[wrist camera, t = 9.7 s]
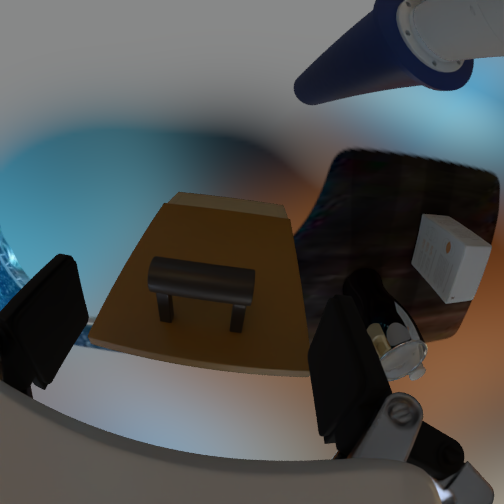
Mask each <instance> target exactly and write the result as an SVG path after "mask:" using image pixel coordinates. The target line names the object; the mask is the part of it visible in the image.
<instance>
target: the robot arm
mask: <svg viewBox="0 0 504 504" xmlns="http://www.w3.org/2000/svg"><path fill="white" fill-rule="evenodd" d="M396 21H397V26H398V29H399V32H400V34H401V36H402V38H403V40H404V42H405V43H406V45H407V47H408V48H409V49H410V50H411V52H412V53H413V54H414V55H415V56H416V57H417V58H418V59H419V60H420V61H421V62H422V63H424V64H425V65H426V66H428V67H430V68H431V69H433V70H436V71H439V72H453V71H456V70H458V69H459V68H460V67H461V66H462V65H463V62H464V60H466V59H475V58H486V57H498V56H499V57H500V56H504V0H405V1H403V2H402V3H401V4H400V5H399V7H398V9H397V12H396ZM88 319H89V315H88V311H87V307H86V304H85V300H84V296H83V291H82V287H81V283H80V278H79V274H78V269H77V264H76V262H75V261H74V259H73V257H72V256H69V255H64V254H58V255H56V256H55V257H54V258H53V259H52V260H51V261H50V262H49V263H48V264H46V266H45V267H43V268H42V269H41V270H40V271H39V272H38V273H37V274H36V275H35V276H34V277H33V278H32V279H31V280H30V281H29V282H28V283H27V284H26V285H25V286H24V287H23V288H22V289H21V290H20V291H19V292H18V293H17V294H16V295H15V296H14V297H13V298H12V299H11V300H10V301H9V303H8V304H7V305H6V306H5V307H4V308H3V309H2V310H1V311H0V504H492V503H493V500H494V491H493V489H492V487H491V486H490V484H489V483H488V482H487V481H486V480H485V479H484V478H483V477H482V476H481V475H480V474H479V472H478V471H477V470H476V469H475V468H474V467H473V466H472V465H471V464H470V463H469V462H468V461H467V462H466V463H464V451H463V449H462V447H461V446H460V444H459V443H458V442H457V441H456V440H454V439H453V438H451V437H449V436H447V435H446V434H444V433H442V432H440V431H439V430H437V429H435V428H434V427H432V426H430V425H429V424H427V423H425V422H424V421H422V420H423V410H422V407H421V405H420V403H419V402H418V401H417V400H416V399H415V398H414V397H412V396H411V395H409V394H406V393H402V392H397V393H393V394H392V391H391V388H390V385H389V383H388V380H387V377H386V375H385V372H384V369H383V367H382V364H381V362H380V359H379V357H378V354H377V352H376V349H375V347H374V344H373V342H372V339H371V337H370V336H369V334H368V333H367V330H366V328H365V325H364V323H363V321H362V318H361V316H360V314H359V312H358V309H357V307H356V305H355V302H354V300H353V298H352V297H351V296H345V295H335V296H334V297H333V298H330V299H329V300H328V302H327V305H326V307H325V310H324V313H323V315H322V318H321V320H320V323H319V326H318V328H317V331H316V333H315V336H314V338H313V341H312V343H311V345H310V348H309V350H308V365H309V371H310V377H311V383H312V390H313V396H314V403H315V410H316V416H317V423H318V431H319V435H320V436H324V442H325V444H328V443H336V447H337V450H338V451H337V453H336V454H335V455H334V457H333V458H332V459H331V460H313V461H266V460H246V459H245V460H244V459H233V458H224V457H215V456H208V455H201V454H194V453H189V452H183V451H178V450H173V449H168V448H164V447H159V446H155V445H151V444H147V443H143V442H140V441H136V440H133V439H129V438H126V437H123V436H119V435H116V434H113V433H110V432H107V431H105V430H102V429H99V428H96V427H94V426H91V425H88V424H86V423H83V422H81V421H78V420H76V419H74V418H71V417H69V416H66V415H64V414H62V413H60V412H58V411H56V410H54V409H52V408H50V407H47V406H45V405H44V404H42V403H40V402H38V401H36V400H34V399H33V396H32V391H31V384H32V382H33V383H34V384H35V385H36V386H38V387H40V388H42V389H44V390H45V389H46V387H47V385H48V384H50V383H51V382H52V381H53V379H54V377H55V376H56V374H57V372H58V370H59V368H60V367H61V365H62V363H63V361H64V360H65V358H66V356H67V355H68V353H69V351H70V350H71V348H72V346H73V345H74V343H75V342H76V340H77V338H78V337H79V335H80V334H81V332H82V331H83V329H84V327H85V326H86V324H87V323H88Z"/></svg>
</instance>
